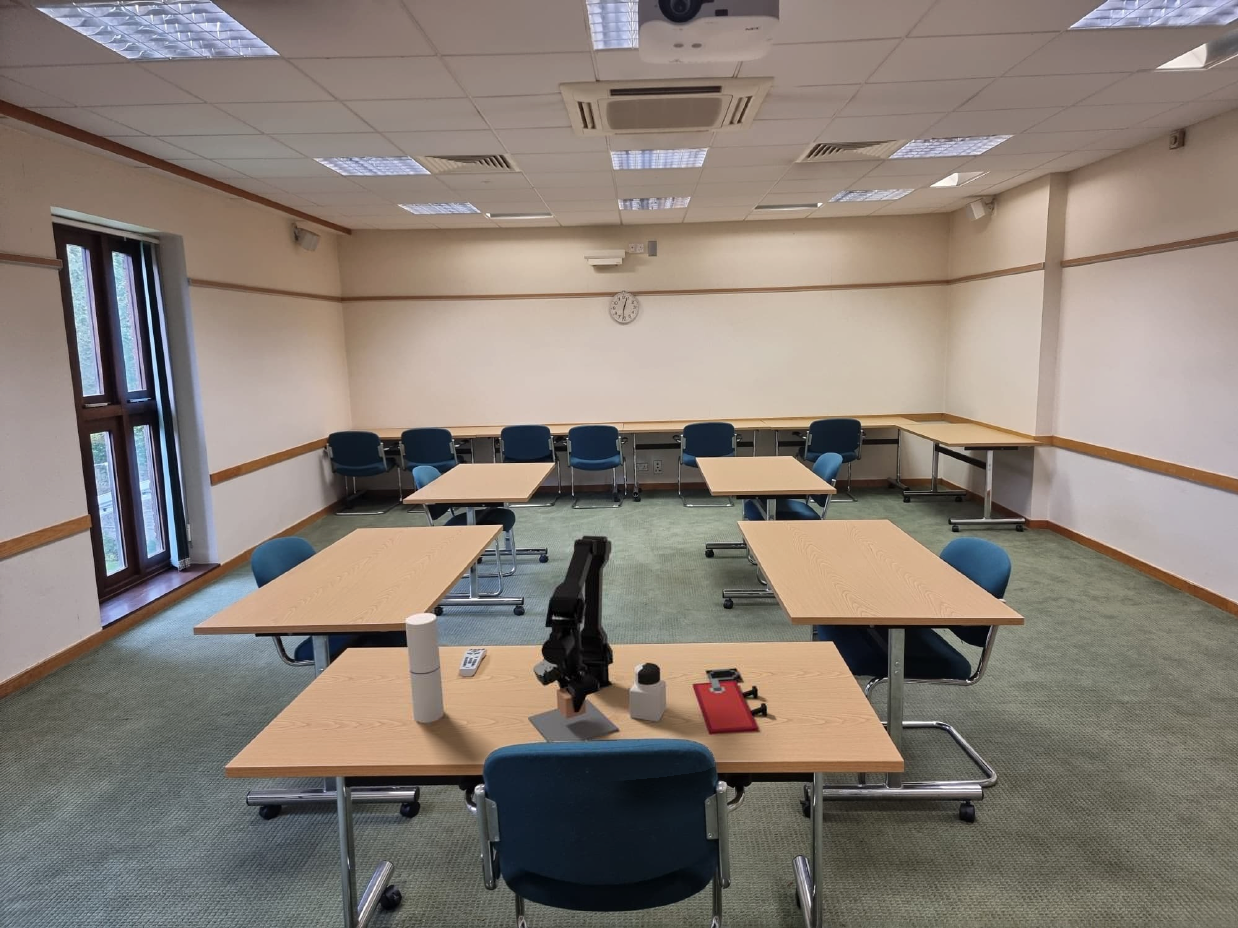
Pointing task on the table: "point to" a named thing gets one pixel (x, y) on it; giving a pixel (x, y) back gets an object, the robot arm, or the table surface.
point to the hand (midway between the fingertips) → (571, 707)
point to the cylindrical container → (424, 667)
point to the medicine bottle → (647, 693)
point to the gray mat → (573, 725)
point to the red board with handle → (726, 703)
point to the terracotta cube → (567, 704)
